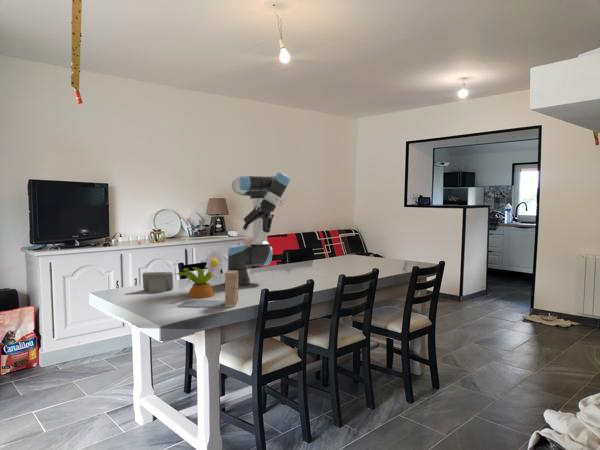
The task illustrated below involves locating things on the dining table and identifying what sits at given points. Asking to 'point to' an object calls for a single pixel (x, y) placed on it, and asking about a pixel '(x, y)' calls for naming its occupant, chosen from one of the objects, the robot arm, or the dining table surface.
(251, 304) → the dining table surface
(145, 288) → the digital clock
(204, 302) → the slate mat
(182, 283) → the dining table surface
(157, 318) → the dining table surface
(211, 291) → the decorative plant
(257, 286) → the dining table surface
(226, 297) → the wooden block
